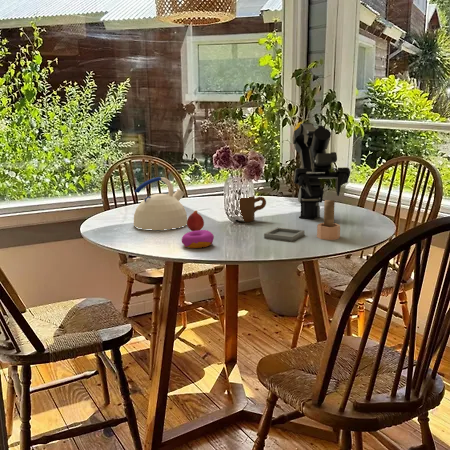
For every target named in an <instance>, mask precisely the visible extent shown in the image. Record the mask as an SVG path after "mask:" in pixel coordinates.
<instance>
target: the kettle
mask: <svg viewBox="0 0 450 450" xmlns="http://www.w3.org/2000/svg"><path fill="white" fill-rule="evenodd" d="M159 181H161V182H162V181H163V182H164V183H165V184H166V185H167V189H168V193H167V194H166V193H155V194H151V195H149V196H147V197H145V198H144V199H143V200H142V201H141V202H140V203H139V204H138V205H137V207H136V208H135V211H134V214H133V225H134V226H136V227H138V228H142V229H152V230H164V229H172V228H179V227H182V226H185V225H186V224H187V220H188V217H187V216H188V213H187V210H186V209H185V206H184V205H183V204H182V202H180V201H181V199H182V197H183V196H185V193H184V191H182V190H181V189H179V188H177V189H176V191H175V189H174V186H173V184H172V183H171V182H172V181H170V180H169V179H168V178H167V177H163V176H162V177H161V176H157V177H153V178H151V179H148V180H146V181H144V182H143V183H141V184H140V185H138V186H137V187H136V188H135V190H134V191H133V192H135V193H140V192H141V191H142V190H143V189H144V188H145V187H147V186H149V185H150V184H153V183H155V182H159ZM174 191H175V192H174ZM134 226H133V227H134ZM185 227H186V226H185Z"/></svg>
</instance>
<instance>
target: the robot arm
mask: <svg viewBox="0 0 450 450" xmlns="http://www.w3.org/2000/svg"><path fill="white" fill-rule="evenodd" d="M331 137H332V133H331V131H330V130H329V129H328V128H326V127H325V125H317V128H316V127H315V126H314V123H313V122H302V123H300V124H299V126H298V127H297V128H296V129H295V130H294V131H293V135H292V144H293V145H294V150H295V151H296V152H297V153H298V154H299V158H300V166H301V167H298V168H295V170H294V173H293V184H294V185H298V186H300V187H299V190H298V195H297V200H298V202H299V203H300V215H298V218H299V219H308V220H316V219H317V218H320V217H321V213H320V212H321V206H320V203H323V197H324V192H325V191H324V189H323V186H322V185H321V180H322V179H334V180H335V192H336V196H337V197H339V196H340V193H341V187H342V186H343V185H345V184H346V183H348V182H349V178H350V176H351V169H350V168H349V167H347V166H346V167H337V169H336V171H330V170H331V169H332V165H331V164H333V163H336V162H337V160H338V156H337V155H338V154H337V152H336V151H335V152H334V151H333V152H330V153H329V152H327V151H326V150H328V147H329V144H330V140H331ZM320 179H321V180H320Z"/></svg>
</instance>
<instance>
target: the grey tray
mask: <svg viewBox="0 0 450 450" xmlns="http://www.w3.org/2000/svg"><path fill="white" fill-rule="evenodd" d="M304 236H305V230H303V229H294V228H285V227H275V228H273V229H271V230H269V231H267V232H265V233H263V238H264V239H267V240H275V241H284V242H291V243H292V242H295V241H297V240H298V239H300V238H302V237H304Z"/></svg>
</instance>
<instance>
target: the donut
mask: <svg viewBox="0 0 450 450" xmlns="http://www.w3.org/2000/svg"><path fill="white" fill-rule="evenodd" d="M182 235H183V236H182V237H181V243H182V244H183V246H184V247H185V248H187V247H190V248H189V249H201V248H202V247H203V248H206V247H209V246H211V245H213V242H214V239H215V236H214V234H213V233H212V232H211V231H210V230H206V229H201V230H198V231H191V230H190V231H188V232H187V233H184V234H182Z"/></svg>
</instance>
